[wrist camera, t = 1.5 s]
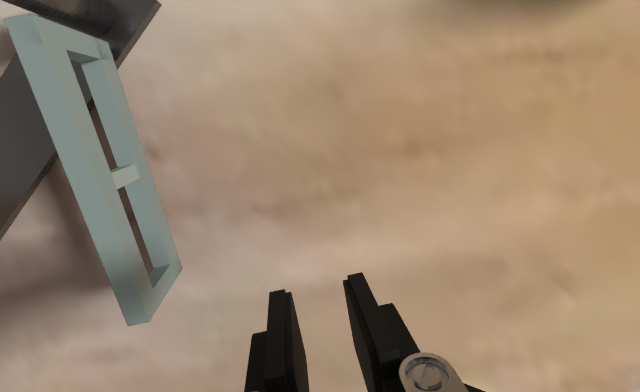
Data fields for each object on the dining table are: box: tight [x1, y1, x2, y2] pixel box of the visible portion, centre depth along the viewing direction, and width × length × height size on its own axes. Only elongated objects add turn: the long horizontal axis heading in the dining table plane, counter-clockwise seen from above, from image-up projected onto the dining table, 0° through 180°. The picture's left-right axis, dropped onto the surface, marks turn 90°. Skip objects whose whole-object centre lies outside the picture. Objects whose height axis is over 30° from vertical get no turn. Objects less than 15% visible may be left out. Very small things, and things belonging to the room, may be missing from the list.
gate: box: [3, 14, 182, 326], centre depth 24 cm, size 20×2×8 cm, turn 10°
